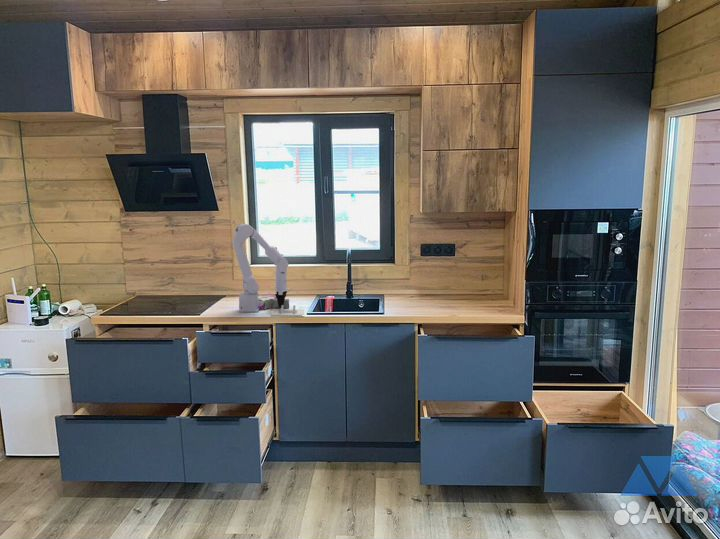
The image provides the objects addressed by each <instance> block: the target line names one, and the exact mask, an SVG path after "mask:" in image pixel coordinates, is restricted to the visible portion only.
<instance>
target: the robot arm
mask: <svg viewBox="0 0 720 539" xmlns="http://www.w3.org/2000/svg"><path fill="white" fill-rule="evenodd" d="M249 238H250V239H253V240H254V241H256V242H257V243H258V244H259V246H260V247H262V248H263V250H264V254H265V255H266V256H267V257H268V258H269V260H271V262H272V263H273V264H274V266H275V292H276V293H275V294H274V295H275V296H276V298H277V301H278V306H279V308H281V305H284V299H286V296H287V294H288V291H289V290H290V288H289V287H288V267H289V261H288V259H287V258H286V257H284V255H283V253H280V252H279V250H278V247H277V246H274V245H269V243H268V242H267V241H266V240H265V238H264V237H263V236H262V235H261V234H260V233H259V231H257V230H256V229H255V228H253V227H252V225H250V224H246V223H243V222H242V223H240V224H238V225H237V227H236V228H235V229H234V235H233V238H232V246H233V249H234V253H235V256H236V259H237V263H238V266H239V269H240V272H241V274H242V276H241V277H242V282H243V283H242V287H243V292H241V293H239V295H238V312H239V313H258V312H259V310H260V309H259V308H258V296H259V292H258V291H259V289H260V285H259V284H258V282H256V279H255V276H254V275H253V272H252V268H251V265H250V262H249V258H248V256H247V252H246V249H245V246H244V244H245V243H246V241H247V239H249ZM287 287H288V288H287Z"/></svg>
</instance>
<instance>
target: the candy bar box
mask: <svg viewBox="0 0 720 539" xmlns="http://www.w3.org/2000/svg"><path fill="white" fill-rule="evenodd" d="M273 299H277V298H276V296H275V294H272V293H267V294H262V295H258V308H259V310H267V308H268V309H271V307H272V308H273Z"/></svg>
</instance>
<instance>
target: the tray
mask: <svg viewBox="0 0 720 539" xmlns="http://www.w3.org/2000/svg"><path fill="white" fill-rule="evenodd" d="M292 306H293V307H292V308H289V309H283V305H281V309H273V308H272V311H271V313H270V317H293V316H302V315H304V316H305V308H296V305H292Z"/></svg>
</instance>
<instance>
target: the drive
mask: <svg viewBox="0 0 720 539" xmlns="http://www.w3.org/2000/svg"><path fill="white" fill-rule="evenodd" d="M273 309H281V308H279V306H278V301H277V299H273V307H272V310H273ZM283 309H290V298H285V299H284V305H283Z"/></svg>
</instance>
